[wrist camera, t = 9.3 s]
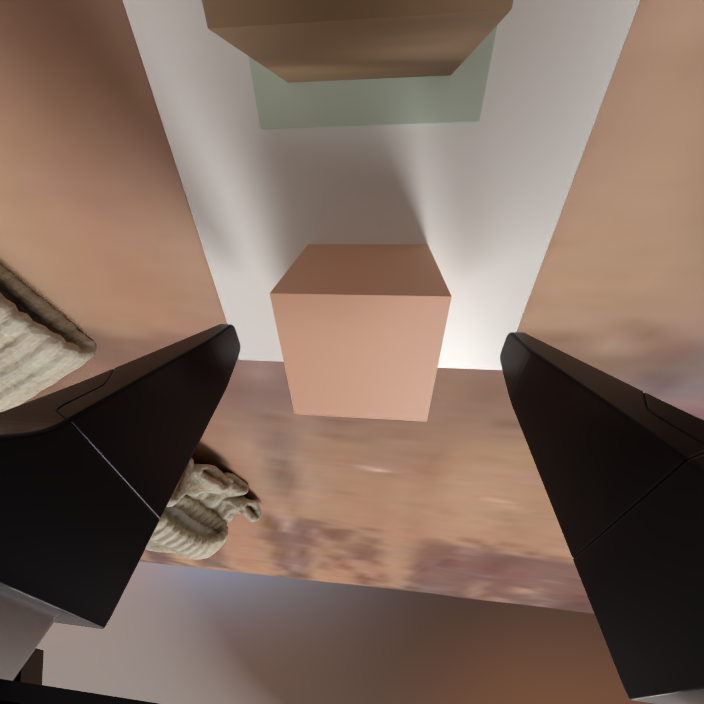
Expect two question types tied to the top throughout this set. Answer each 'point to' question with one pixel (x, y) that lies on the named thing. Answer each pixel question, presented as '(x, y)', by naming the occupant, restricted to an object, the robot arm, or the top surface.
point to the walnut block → (355, 35)
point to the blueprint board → (384, 159)
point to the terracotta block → (362, 329)
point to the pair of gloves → (68, 355)
